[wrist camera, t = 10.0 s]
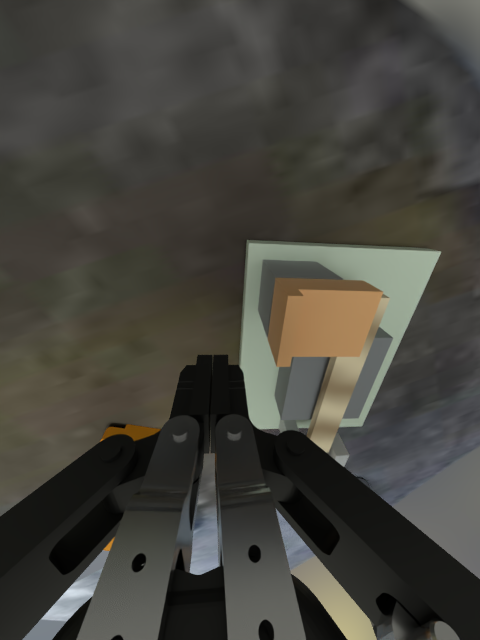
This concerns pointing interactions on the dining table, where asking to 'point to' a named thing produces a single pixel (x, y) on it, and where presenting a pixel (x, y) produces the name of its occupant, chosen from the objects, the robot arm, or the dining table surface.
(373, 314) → the block
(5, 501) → the dining table surface
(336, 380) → the strap
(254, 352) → the board
